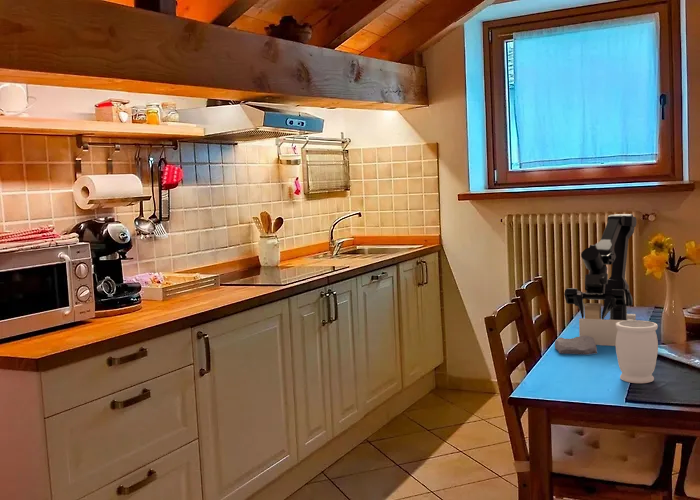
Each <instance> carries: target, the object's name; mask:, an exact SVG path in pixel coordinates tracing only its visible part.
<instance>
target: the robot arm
mask: <svg viewBox="0 0 700 500" xmlns="http://www.w3.org/2000/svg"><path fill="white" fill-rule="evenodd" d="M606 219H607V223H606V226H605V228H604V231H603V232H602V235H601V238H600V241H598V242H596V243H595V244H590V245H589V247H586V248H585V249H584V250H583V251H582V252H581V253H580V254H581V255H580V257H581V259H582V261H583V264H584V266H585V268H586V269H587V270H588V274H585V275H584V277H585V279H584V290H585V291H584V292H583V291H581V290H578V288H577V287H574V288H573V287H571V288H569V287H567V288H565V289H564V293H563V294H564V295H563V296H564V298H565V302H566V304H569V305H574V306H575V307H578V309H579V312H580V315H581V318H583V319H585V303H584V299H585V300H586V299H587V300H590V301H591V300H594V301H595V300H597V301H603V303H604V304H603V306H602V307H603V308H602V310H601V319H605V318H606V317H607V315H608V313H609V319H608V320H626V321H627V314H628V309H627V308H628V307H629V306H633V296H632V294H631V291H630V286H629V284H628V282H627V280H626V268H627V258H628V247H629V239H630V238H631V236H632V235H633V234H634V233H635V227H636V226H637V218H636V217H635V216H634V214H632V213H630V214H629V213H619V214H618V213H617V214H616V213H615V214H609V215H608V216H607V218H606ZM606 265H608V266H610V265H611V272H610V273H611V275H610V277H609V274H608V267H607V266H606Z"/></svg>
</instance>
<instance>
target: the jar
mask: <svg viewBox="0 0 700 500" xmlns="http://www.w3.org/2000/svg"><path fill="white" fill-rule="evenodd" d="M658 327H659V326H658V324H657V323H656V322H653V321H648V320H641V319H640V320H638V319H636V320H627V321H620V322H617V323H616V328H617V329H618V331H617V335H616V346H615V352H616V357H617V364H618V366H619V370H620V371H621V374H620V376H619V378H620V380H622V381H623V382H626V383H632V384H648V383H651V382H653V381H654V380H655V377H654V376H653V373H654V371H655V368H656V365H657V357H658V353H659V342H658V335H657V332H656V331H657V329H658Z"/></svg>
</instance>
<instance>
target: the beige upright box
mask: <svg viewBox="0 0 700 500" xmlns="http://www.w3.org/2000/svg"><path fill="white" fill-rule="evenodd" d="M578 319H579V320H578V321H579V322H578V327H579V329H578V331H579V332H578V334H579V336H578V337H581V336H589V337H592V338H593V339H594V341H595V344H596V346H609V347H610V346H612V347H616V335H617V331H618V329H617V328H616V323H617V322H620V321H626V320H609V319H605V318H604V319H602V318H601V319H585V318H582V317H581V318H578Z"/></svg>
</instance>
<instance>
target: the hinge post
mask: <svg viewBox="0 0 700 500" xmlns="http://www.w3.org/2000/svg"><path fill="white" fill-rule="evenodd" d="M636 315H637V314H636V313H627V320H628V319H633V320H637V319H636Z"/></svg>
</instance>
